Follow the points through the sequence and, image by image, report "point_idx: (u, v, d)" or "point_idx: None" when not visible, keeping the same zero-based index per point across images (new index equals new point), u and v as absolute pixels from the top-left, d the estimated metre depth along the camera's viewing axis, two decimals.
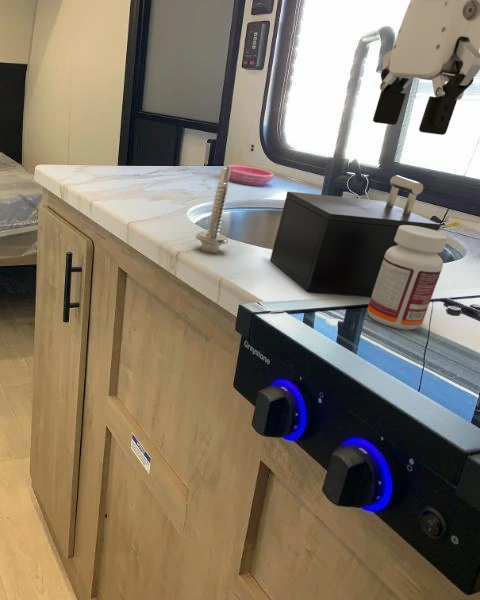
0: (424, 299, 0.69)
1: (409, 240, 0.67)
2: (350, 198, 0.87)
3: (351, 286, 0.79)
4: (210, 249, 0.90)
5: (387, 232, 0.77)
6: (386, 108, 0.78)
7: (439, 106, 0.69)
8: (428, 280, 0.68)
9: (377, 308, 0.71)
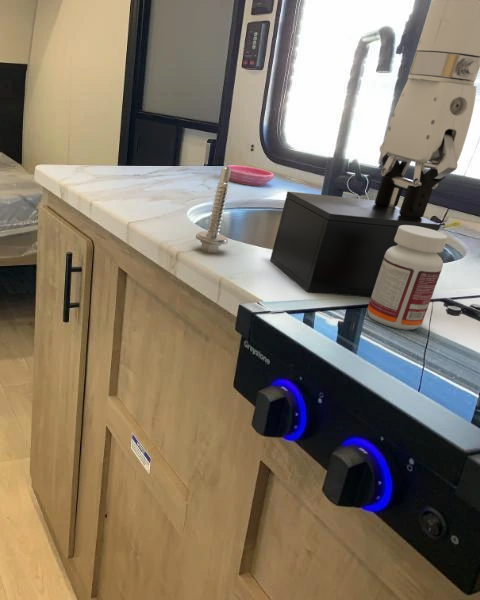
0: (424, 299, 0.69)
1: (409, 240, 0.67)
2: (350, 198, 0.87)
3: (351, 286, 0.79)
4: (210, 249, 0.90)
5: (387, 232, 0.77)
6: (387, 192, 0.84)
7: (417, 194, 0.78)
8: (428, 280, 0.68)
9: (377, 308, 0.71)
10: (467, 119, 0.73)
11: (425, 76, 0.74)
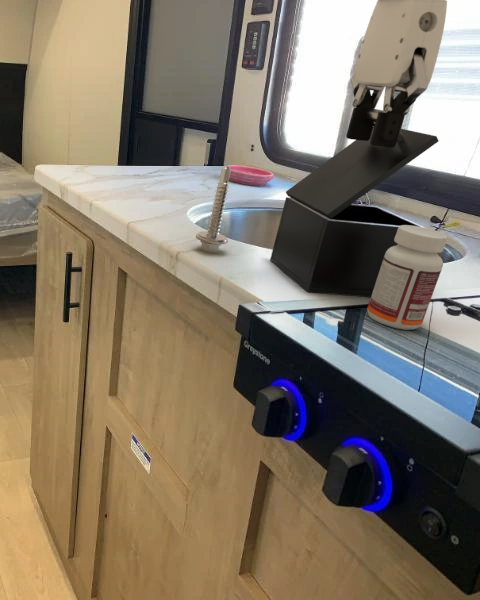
0: (424, 299, 0.69)
1: (409, 240, 0.67)
2: (344, 150, 0.84)
3: (351, 286, 0.79)
4: (210, 249, 0.90)
5: (387, 232, 0.77)
6: (358, 125, 0.80)
7: (387, 121, 0.73)
8: (428, 280, 0.68)
9: (377, 308, 0.71)
10: (438, 36, 0.69)
11: None
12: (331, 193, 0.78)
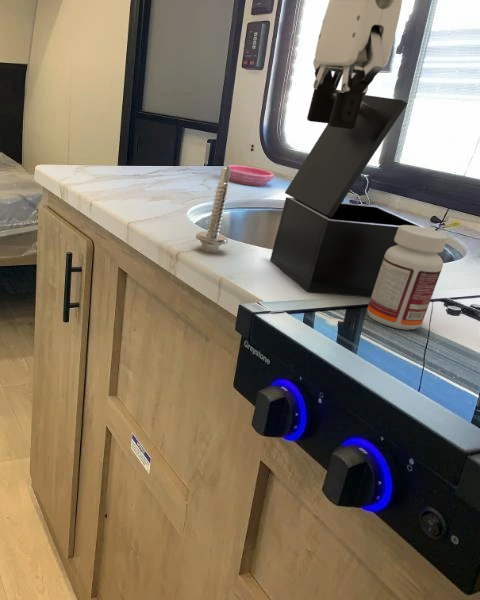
0: (424, 299, 0.69)
1: (409, 240, 0.67)
2: (324, 132, 0.83)
3: (351, 286, 0.79)
4: (210, 249, 0.90)
5: (387, 232, 0.77)
6: (319, 107, 0.78)
7: (345, 101, 0.72)
8: (428, 280, 0.68)
9: (377, 308, 0.71)
10: (395, 13, 0.68)
11: None
12: (324, 188, 0.78)
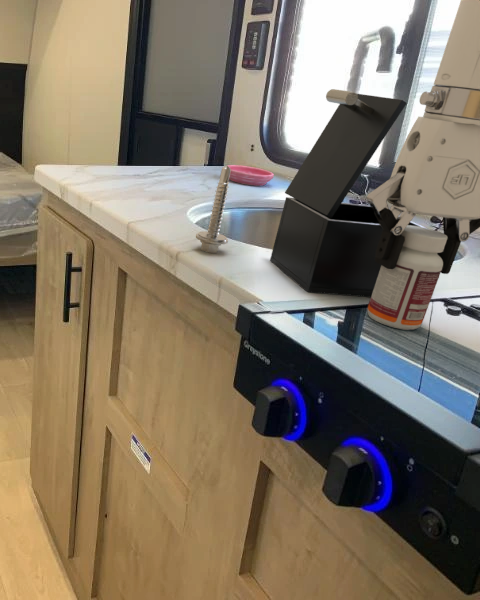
0: (424, 299, 0.69)
1: (409, 240, 0.67)
2: (324, 132, 0.83)
3: (351, 286, 0.79)
4: (210, 249, 0.90)
5: None
6: None
7: (381, 237, 0.69)
8: (428, 280, 0.68)
9: (377, 308, 0.71)
10: (418, 156, 0.63)
11: None
12: (324, 188, 0.78)
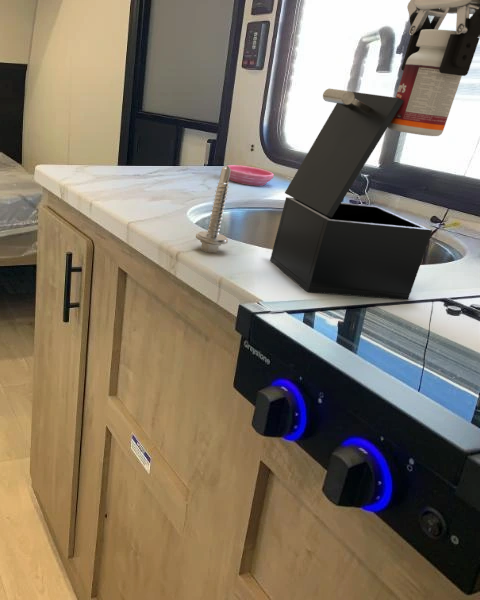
0: None
1: None
2: (322, 131, 0.83)
3: (351, 286, 0.79)
4: (210, 249, 0.90)
5: (387, 232, 0.77)
6: None
7: (461, 44, 0.65)
8: None
9: (438, 122, 0.70)
10: None
11: None
12: (323, 188, 0.78)
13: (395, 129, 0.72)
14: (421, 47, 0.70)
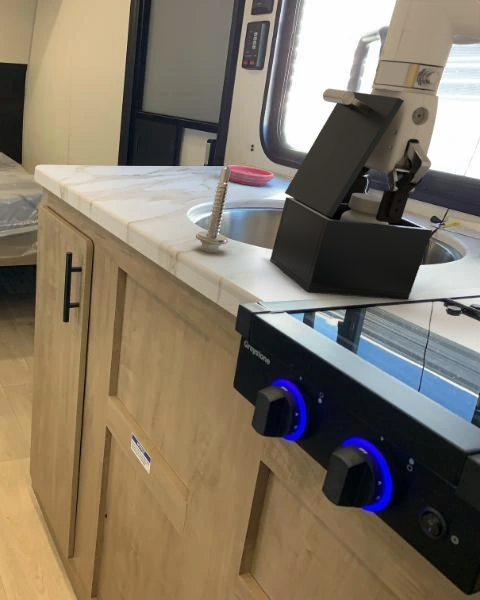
0: None
1: None
2: (322, 131, 0.83)
3: (351, 286, 0.79)
4: (210, 249, 0.90)
5: (387, 232, 0.77)
6: (349, 191, 0.85)
7: (393, 199, 0.76)
8: None
9: None
10: (429, 129, 0.73)
11: (387, 86, 0.74)
12: (323, 188, 0.78)
13: None
14: (352, 208, 0.82)
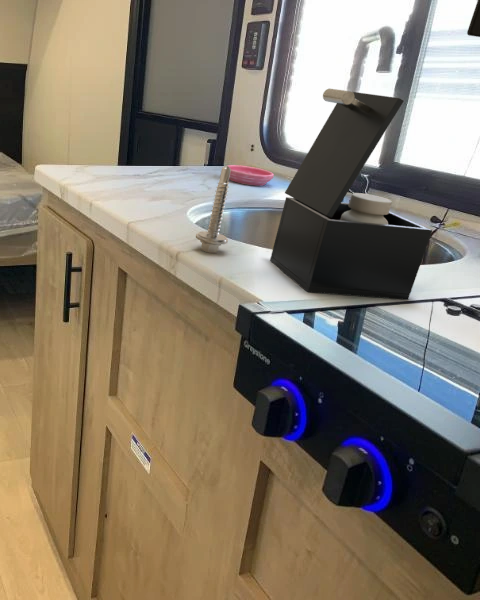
0: None
1: (387, 208, 0.80)
2: (322, 131, 0.83)
3: (351, 286, 0.79)
4: (210, 249, 0.90)
5: (387, 232, 0.77)
6: None
7: None
8: None
9: None
10: None
11: None
12: (323, 188, 0.78)
13: None
14: (352, 208, 0.82)
